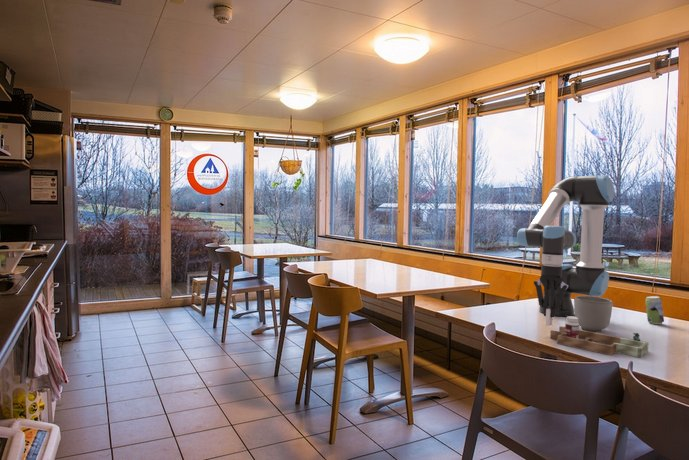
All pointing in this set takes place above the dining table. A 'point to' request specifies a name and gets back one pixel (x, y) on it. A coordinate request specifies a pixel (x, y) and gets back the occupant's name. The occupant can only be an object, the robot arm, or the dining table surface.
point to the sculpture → (636, 336)
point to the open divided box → (616, 342)
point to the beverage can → (654, 310)
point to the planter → (593, 312)
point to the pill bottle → (572, 327)
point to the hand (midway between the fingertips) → (548, 325)
